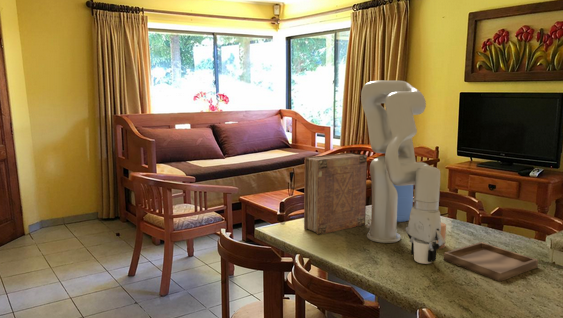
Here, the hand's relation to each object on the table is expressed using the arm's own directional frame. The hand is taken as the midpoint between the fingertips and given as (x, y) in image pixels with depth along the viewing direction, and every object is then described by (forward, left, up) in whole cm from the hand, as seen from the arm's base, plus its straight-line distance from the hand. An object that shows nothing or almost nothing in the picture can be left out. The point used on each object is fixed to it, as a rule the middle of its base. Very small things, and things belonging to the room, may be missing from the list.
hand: (423, 256), depth 144 cm
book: (-45, -1, -2) cm, 45 cm away
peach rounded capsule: (-8, +16, -2) cm, 18 cm away
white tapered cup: (0, 0, -1) cm, 1 cm away
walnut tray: (+13, +17, -2) cm, 21 cm away
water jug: (-42, +30, -2) cm, 52 cm away
